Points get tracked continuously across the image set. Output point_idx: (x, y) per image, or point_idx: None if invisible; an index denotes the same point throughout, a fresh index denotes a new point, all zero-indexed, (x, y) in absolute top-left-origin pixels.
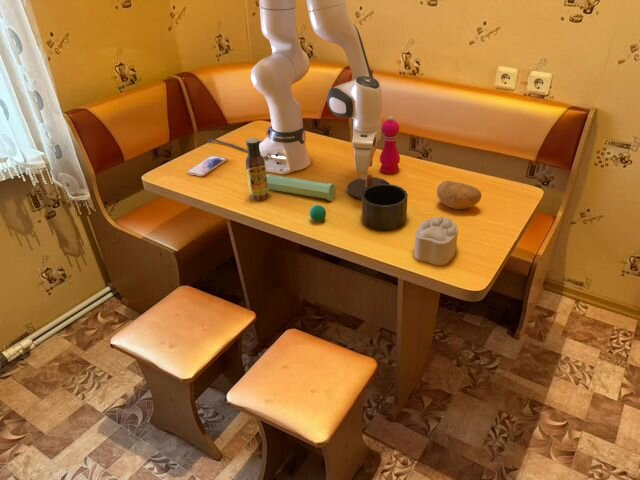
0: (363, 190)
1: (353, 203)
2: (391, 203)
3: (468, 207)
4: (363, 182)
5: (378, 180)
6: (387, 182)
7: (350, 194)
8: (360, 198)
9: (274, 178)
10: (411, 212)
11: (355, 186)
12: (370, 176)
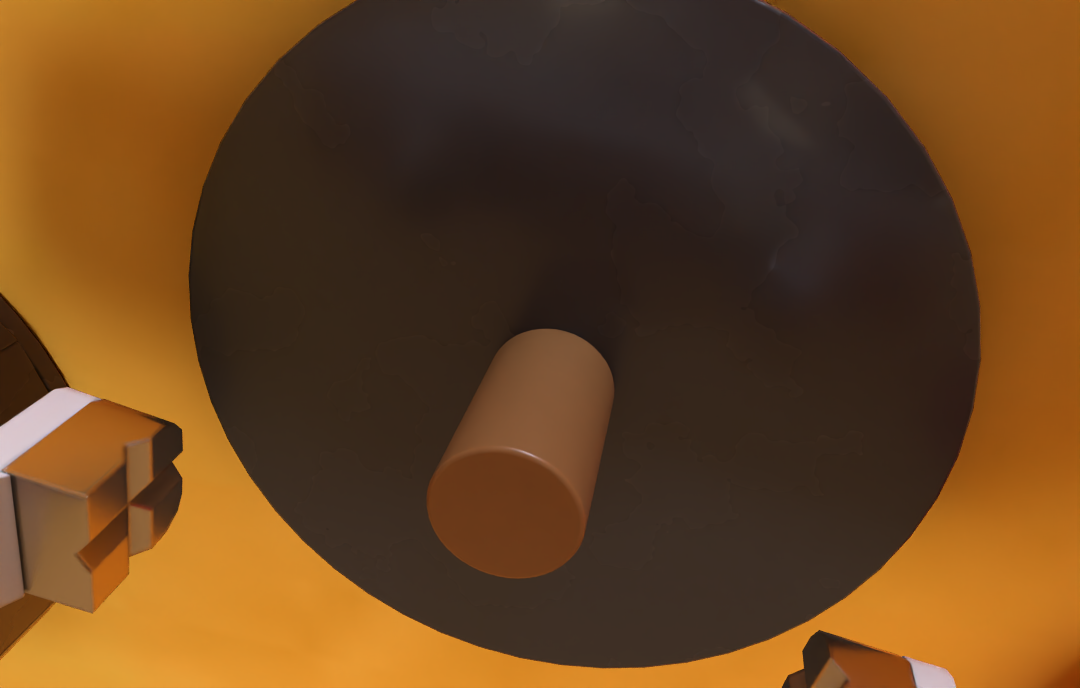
0: (443, 279)
1: (136, 55)
2: None
3: None
4: (756, 316)
5: (782, 559)
6: (683, 655)
7: (337, 15)
8: (207, 195)
9: None
10: (65, 679)
11: (612, 144)
12: (506, 545)
